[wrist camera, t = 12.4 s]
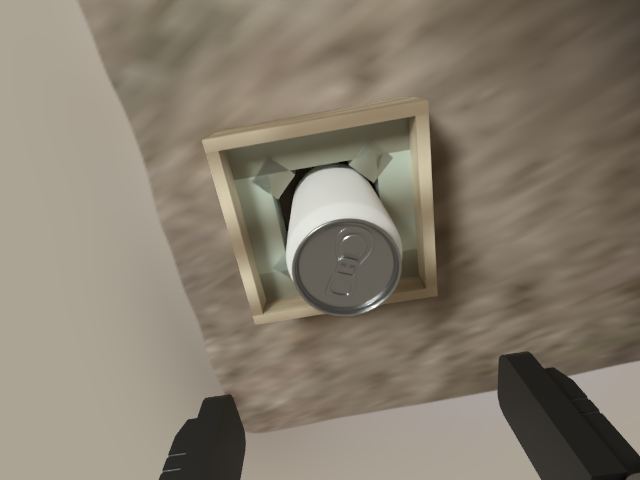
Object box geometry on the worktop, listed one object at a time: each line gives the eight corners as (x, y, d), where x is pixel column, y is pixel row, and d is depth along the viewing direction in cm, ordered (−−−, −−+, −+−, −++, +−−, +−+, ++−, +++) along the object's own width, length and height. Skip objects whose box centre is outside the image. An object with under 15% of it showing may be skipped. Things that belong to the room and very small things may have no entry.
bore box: (220, 130, 27) (201, 140, 23) (407, 96, 27) (428, 99, 22) (262, 290, 33) (255, 324, 28) (419, 265, 32) (437, 296, 28)
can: (383, 172, 29) (429, 227, 18) (359, 245, 31) (387, 333, 20) (303, 152, 28) (299, 196, 17) (285, 228, 31) (271, 311, 19)
